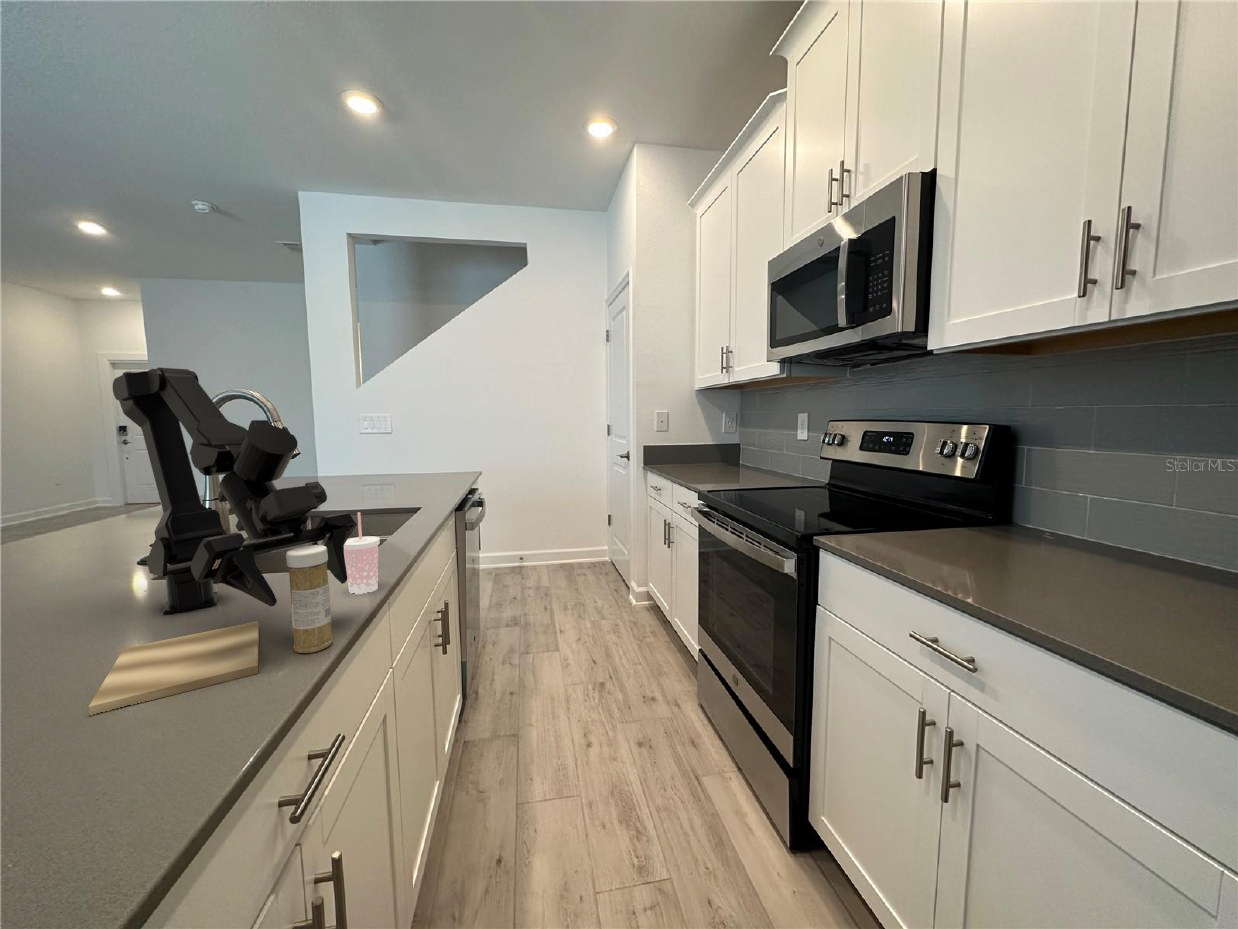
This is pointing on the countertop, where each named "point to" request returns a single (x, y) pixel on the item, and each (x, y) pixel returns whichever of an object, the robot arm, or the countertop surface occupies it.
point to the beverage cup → (362, 562)
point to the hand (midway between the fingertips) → (311, 592)
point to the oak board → (179, 666)
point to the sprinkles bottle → (310, 598)
